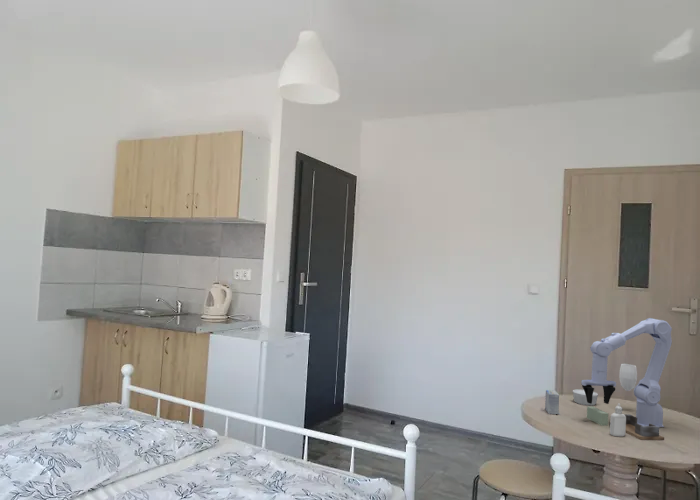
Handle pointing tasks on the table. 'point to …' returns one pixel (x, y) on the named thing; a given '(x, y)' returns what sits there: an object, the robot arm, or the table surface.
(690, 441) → the table surface
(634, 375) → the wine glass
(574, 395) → the ramekin
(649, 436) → the slotted holder
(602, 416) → the rail plank
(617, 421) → the eye dropper bottle
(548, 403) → the medicine box
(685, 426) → the table surface
